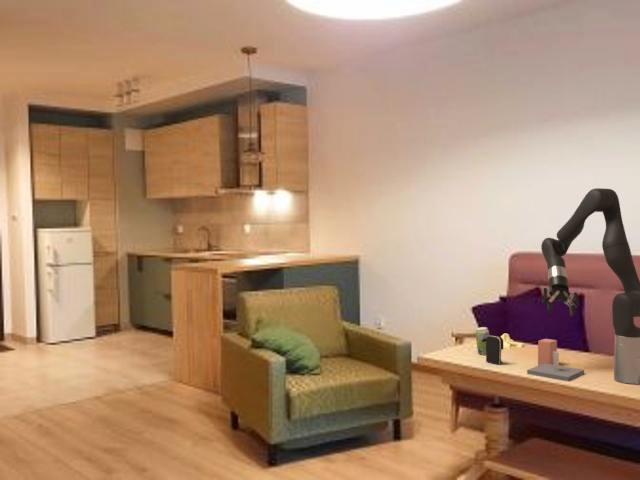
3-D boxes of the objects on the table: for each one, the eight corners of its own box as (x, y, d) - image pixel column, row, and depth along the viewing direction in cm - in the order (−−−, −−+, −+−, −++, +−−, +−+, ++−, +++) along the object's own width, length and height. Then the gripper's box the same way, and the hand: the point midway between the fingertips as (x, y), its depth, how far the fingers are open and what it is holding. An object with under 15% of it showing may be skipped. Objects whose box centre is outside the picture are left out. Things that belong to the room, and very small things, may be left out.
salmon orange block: (556, 363, 261) (556, 340, 260) (549, 366, 256) (550, 342, 255) (544, 362, 264) (545, 338, 264) (537, 364, 259) (538, 340, 259)
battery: (504, 363, 260) (504, 336, 260) (498, 365, 258) (498, 337, 258) (491, 360, 266) (491, 334, 266) (485, 362, 264) (485, 335, 264)
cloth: (506, 340, 314) (506, 328, 314) (533, 347, 297) (534, 334, 297) (471, 344, 304) (471, 331, 304) (498, 351, 287) (498, 338, 287)
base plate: (584, 373, 245) (584, 369, 245) (567, 381, 233) (568, 377, 233) (544, 366, 256) (544, 363, 256) (527, 373, 244) (527, 369, 244)
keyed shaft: (557, 368, 246) (557, 351, 246) (558, 371, 242) (558, 353, 242) (552, 368, 246) (553, 351, 246) (554, 370, 243) (554, 353, 242)
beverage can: (494, 354, 278) (494, 328, 277) (480, 356, 275) (481, 329, 274) (485, 352, 283) (486, 325, 283) (472, 353, 281) (472, 326, 280)
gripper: (544, 272, 255) (547, 306, 246) (578, 277, 255) (583, 311, 246) (537, 281, 262) (540, 315, 252) (571, 286, 262) (575, 320, 252)
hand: (561, 313), depth 249 cm, fingers open, 8 cm apart
